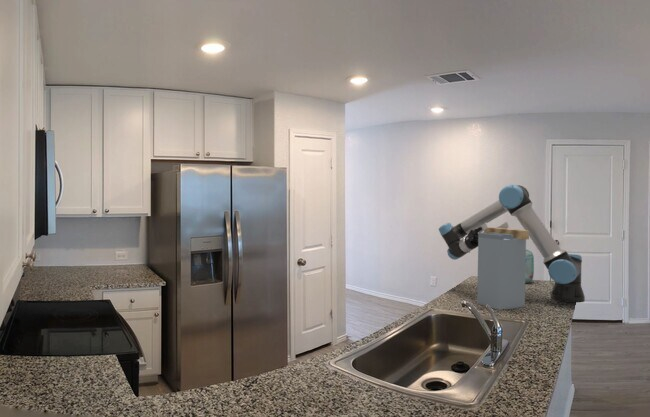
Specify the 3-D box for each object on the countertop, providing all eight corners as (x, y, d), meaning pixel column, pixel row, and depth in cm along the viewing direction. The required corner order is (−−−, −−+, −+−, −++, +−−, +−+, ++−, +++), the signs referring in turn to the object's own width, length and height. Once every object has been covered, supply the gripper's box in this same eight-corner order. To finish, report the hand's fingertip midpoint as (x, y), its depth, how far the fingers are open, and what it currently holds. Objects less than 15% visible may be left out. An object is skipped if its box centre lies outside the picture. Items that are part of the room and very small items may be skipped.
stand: (477, 303, 226) (478, 233, 225) (501, 300, 233) (502, 232, 232) (499, 310, 214) (501, 235, 213) (524, 306, 221) (526, 234, 220)
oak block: (484, 235, 235) (484, 227, 235) (489, 235, 237) (490, 227, 237) (522, 239, 215) (523, 230, 215) (528, 239, 217) (529, 230, 216)
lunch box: (485, 281, 285) (486, 245, 284) (486, 278, 294) (487, 244, 293) (533, 284, 274) (534, 248, 273) (533, 281, 284) (534, 246, 283)
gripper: (490, 248, 251) (518, 231, 234) (453, 250, 240) (481, 232, 223) (484, 235, 254) (512, 217, 237) (449, 237, 243) (475, 218, 226)
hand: (497, 224), depth 230 cm, fingers open, 13 cm apart
